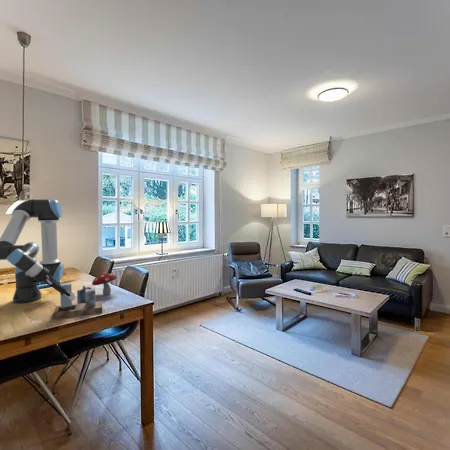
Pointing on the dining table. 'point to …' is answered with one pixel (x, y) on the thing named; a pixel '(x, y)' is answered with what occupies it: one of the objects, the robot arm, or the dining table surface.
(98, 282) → the decorative mushroom
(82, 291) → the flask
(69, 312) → the block insertion board
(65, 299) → the gray rectangular block
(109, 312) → the dining table surface
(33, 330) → the dining table surface
